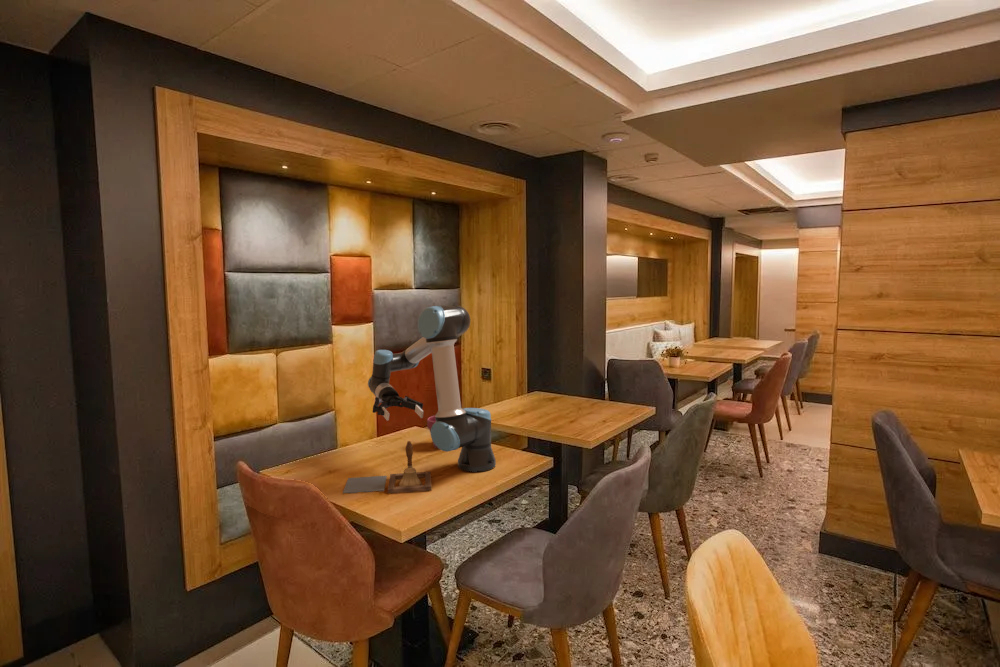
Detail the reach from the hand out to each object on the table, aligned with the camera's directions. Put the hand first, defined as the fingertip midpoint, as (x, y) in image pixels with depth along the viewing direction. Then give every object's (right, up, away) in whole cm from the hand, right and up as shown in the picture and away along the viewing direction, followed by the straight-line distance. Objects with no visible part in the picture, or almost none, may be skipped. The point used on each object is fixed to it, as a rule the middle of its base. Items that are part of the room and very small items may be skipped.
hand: (405, 416), depth 192 cm
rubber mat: (-13, -24, -6) cm, 28 cm away
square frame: (+3, -24, -6) cm, 25 cm away
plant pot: (+10, -20, +39) cm, 45 cm away
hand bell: (+3, -24, -6) cm, 25 cm away
